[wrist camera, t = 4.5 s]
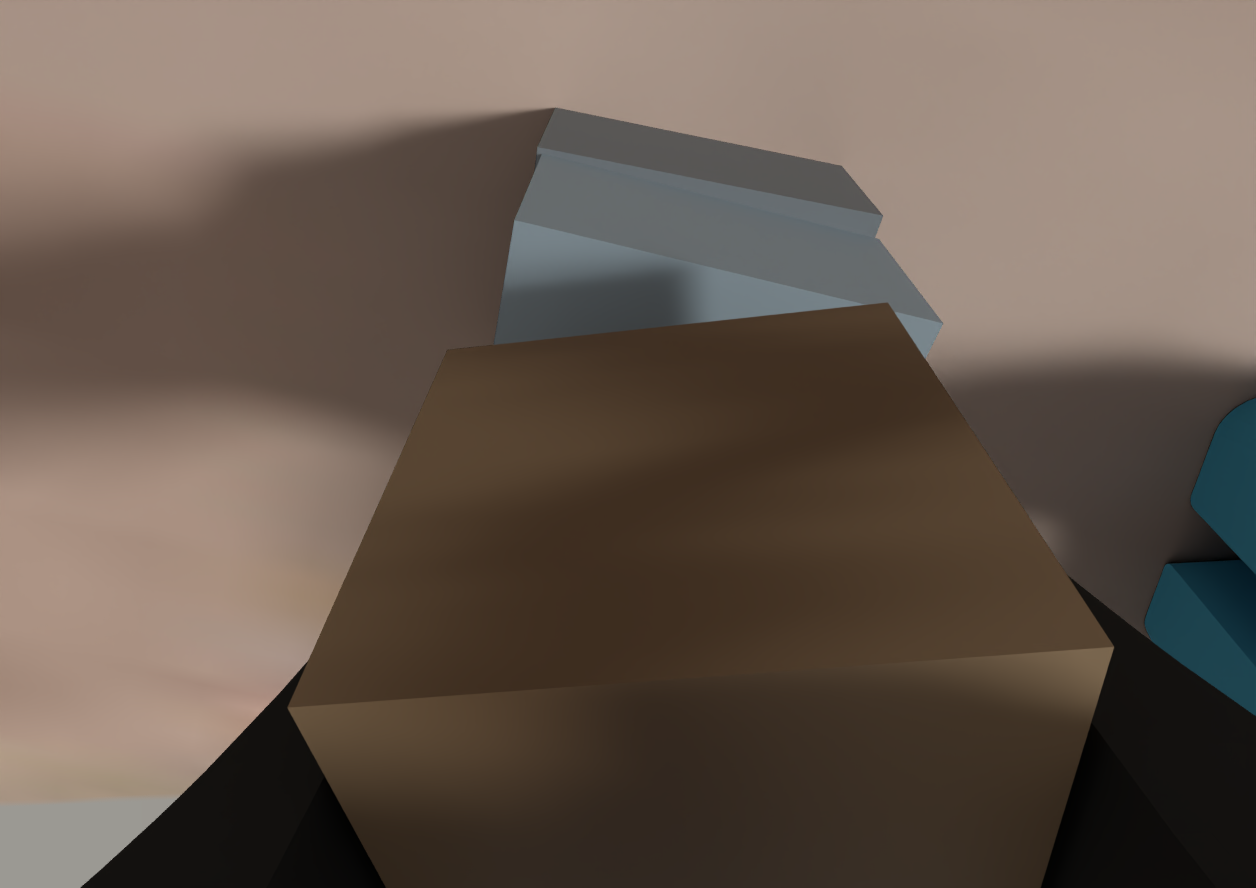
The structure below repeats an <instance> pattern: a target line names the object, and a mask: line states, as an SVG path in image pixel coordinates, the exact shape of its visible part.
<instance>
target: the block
mask: <svg viewBox="0 0 1256 888" xmlns="http://www.w3.org/2000/svg"><path fill="white" fill-rule="evenodd" d="M1190 501H1191V505H1192V507H1193V509H1194V510H1195V511H1196V512H1197V513H1198V514H1199V515H1200V516H1201V517H1202V518H1203V519H1204V520H1205V521H1206V523H1207V524H1208V525H1209V526H1210V527H1211V528H1212V529H1213V530H1214V531H1215V532H1216V533H1217V534H1218V535H1219V536H1220V537H1221V538H1222V539H1223V541H1224V542H1225V543H1226V544H1227V545H1228V546H1229V547H1230V548H1231V549H1232V550H1233V551H1234V552H1235V553H1236V554H1237V555H1238V556H1239V557H1240V559H1241V560H1228V561H1210V562H1192V563H1174V564H1166V565H1165V567H1164V569H1163V572H1162V575H1161V577H1160V580H1159V582H1158V585H1157V588H1156V590H1155V593H1154V596H1153V598H1152V601H1151V604H1150V606H1149V609H1148V612H1147V614H1146V617H1145V628H1146V630H1147V632H1148V634H1149V636H1150V638H1151V640H1152V642H1153V643H1155V644H1156V645H1157V646H1159V647H1160V648H1161V649H1163V650H1164V651H1165V652H1167V653H1168V654H1169V655H1171V656H1172V657H1173V658H1175V659H1176V660H1177V661H1179V662H1180V663H1181V664H1183V665H1184V666H1186V667H1187V668H1188V669H1190V670H1191V671H1193V672H1194V673H1196V674H1197V675H1198V676H1200V677H1201V678H1203V679H1204V680H1205V681H1207V682H1208V683H1210V684H1211V685H1213V686H1214V687H1215V688H1217V689H1218V690H1220V691H1221V692H1222V693H1224V694H1225V695H1227V696H1228V697H1229V698H1231V699H1232V700H1234V701H1235V702H1237V703H1238V704H1239V705H1241V706H1242V707H1244V708H1245V709H1246V710H1248V711H1249V712H1251V713H1252V714H1254V715H1255V716H1256V398H1254V399H1252V400H1249V401H1247V402H1245V403H1243V404H1242V405H1240V406H1238V407H1236V408H1235V409H1234V410H1233V411H1232V412H1230V413H1229V414H1228V415H1227V416H1226V417H1225V418H1224V419H1223V421H1222V422H1221V423H1220V424H1219V426H1218V428H1217V430H1216V432H1215V434H1214V437H1213V439H1212V442H1211V445H1210V447H1209V450H1208V452H1207V455H1206V458H1205V460H1204V463H1203V466H1202V468H1201V471H1200V474H1199V476H1198V479H1197V482H1196V484H1195V487H1194V490H1193V492H1192V495H1191V500H1190Z"/></svg>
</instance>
